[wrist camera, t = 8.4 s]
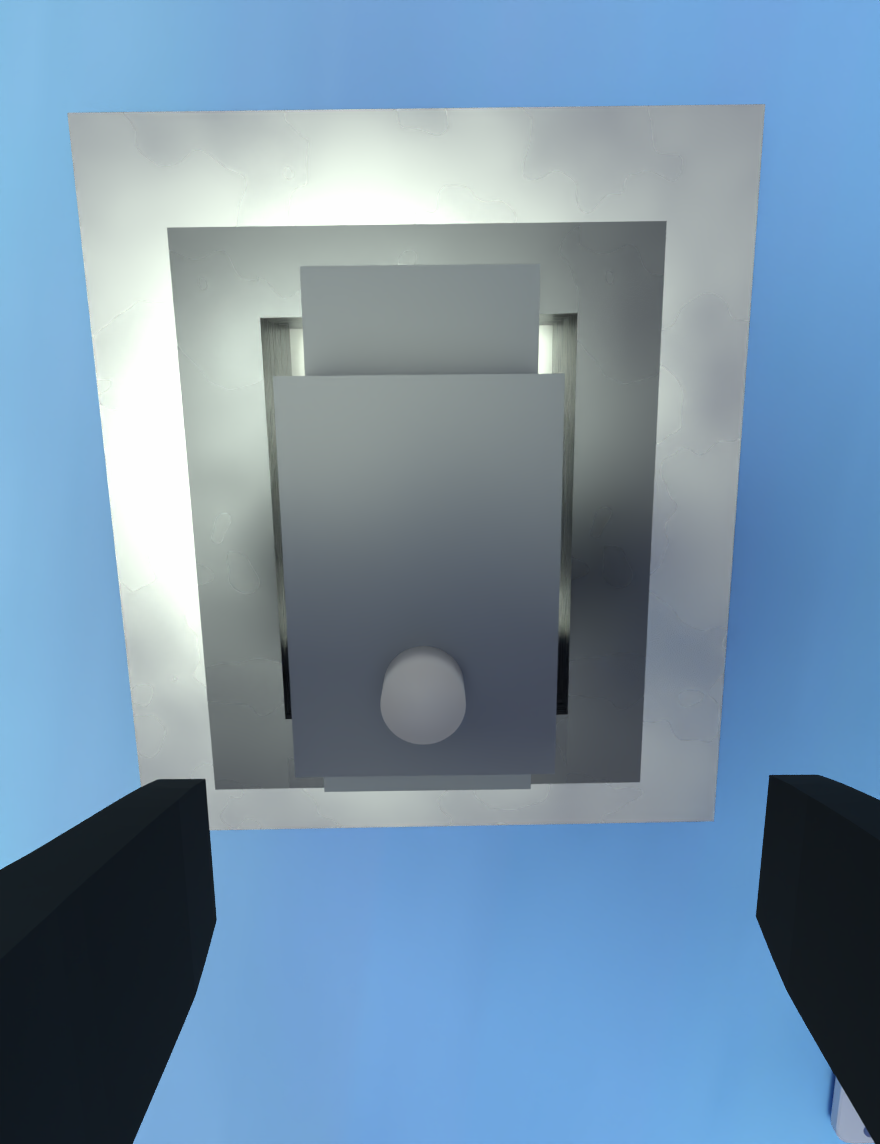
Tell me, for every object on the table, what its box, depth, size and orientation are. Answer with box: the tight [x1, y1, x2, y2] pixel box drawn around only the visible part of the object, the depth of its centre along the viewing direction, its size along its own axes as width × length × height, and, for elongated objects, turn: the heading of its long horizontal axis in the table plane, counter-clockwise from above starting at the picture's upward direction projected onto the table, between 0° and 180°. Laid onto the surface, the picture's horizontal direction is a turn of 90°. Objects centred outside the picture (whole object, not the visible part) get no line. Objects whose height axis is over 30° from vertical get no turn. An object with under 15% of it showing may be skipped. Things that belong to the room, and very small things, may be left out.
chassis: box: [68, 104, 765, 830], centre depth 17 cm, size 14×16×4 cm
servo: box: [273, 264, 565, 792], centre depth 14 cm, size 4×10×7 cm, turn 1°
